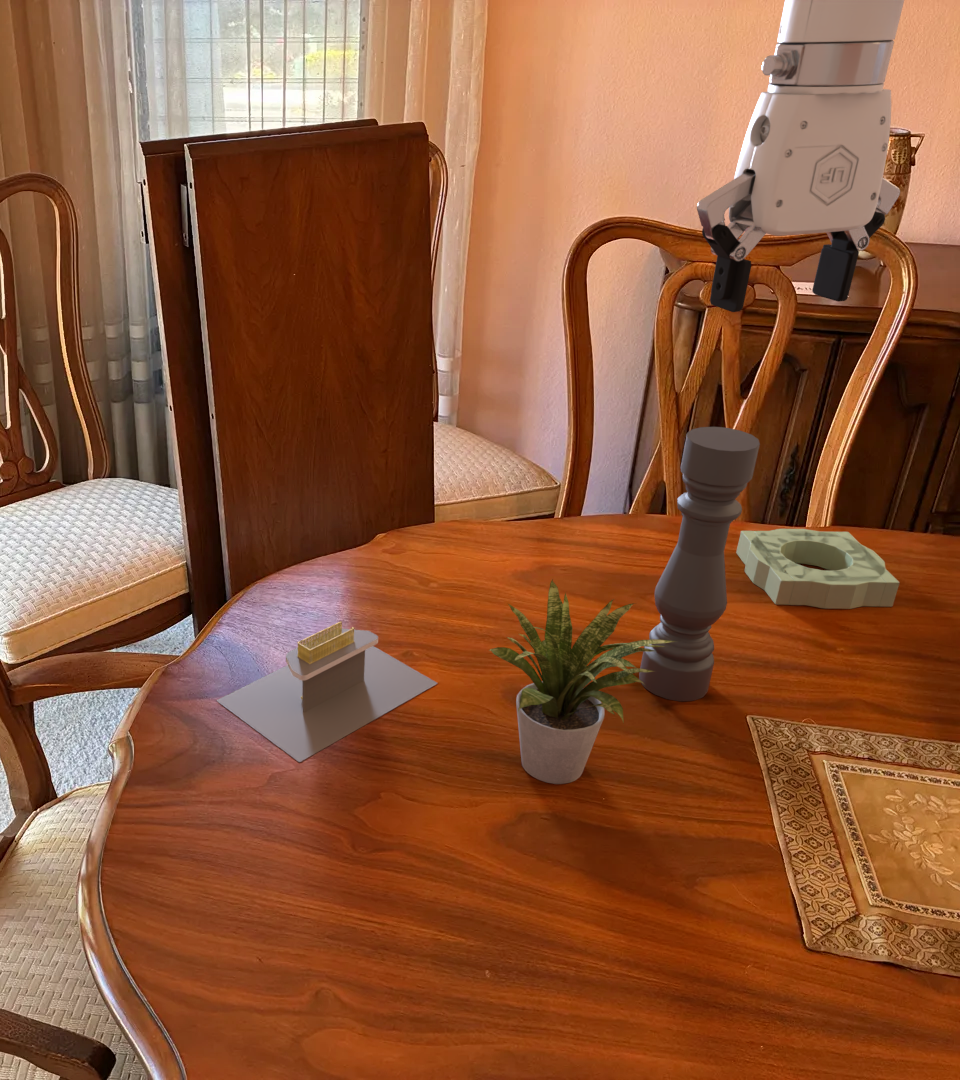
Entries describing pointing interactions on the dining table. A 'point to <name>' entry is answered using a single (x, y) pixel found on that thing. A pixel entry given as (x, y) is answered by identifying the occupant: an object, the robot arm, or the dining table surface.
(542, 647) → the house plant
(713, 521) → the grey baluster
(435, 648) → the dining table surface
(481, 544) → the dining table surface
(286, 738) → the platform
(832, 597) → the base pad
